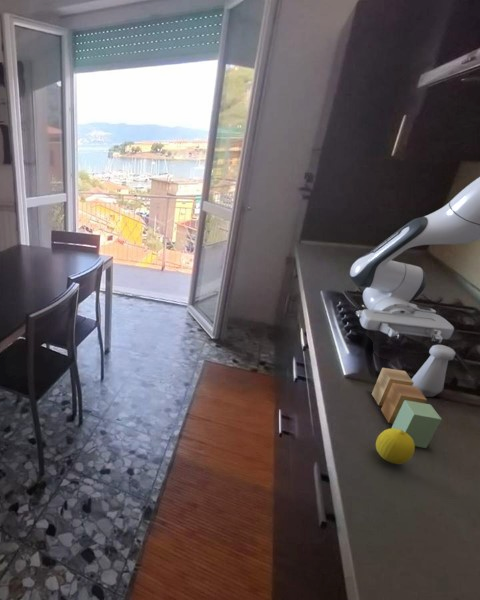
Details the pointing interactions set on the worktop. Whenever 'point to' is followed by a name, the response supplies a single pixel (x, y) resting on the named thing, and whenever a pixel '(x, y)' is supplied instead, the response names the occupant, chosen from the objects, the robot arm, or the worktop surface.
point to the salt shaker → (433, 371)
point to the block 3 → (417, 422)
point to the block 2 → (400, 399)
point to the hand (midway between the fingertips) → (416, 337)
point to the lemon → (395, 446)
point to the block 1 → (389, 383)
